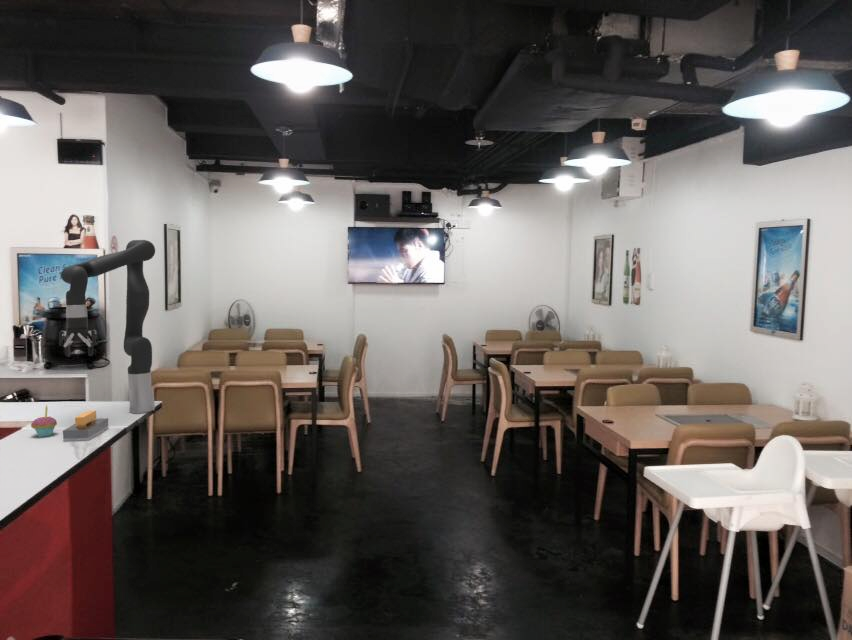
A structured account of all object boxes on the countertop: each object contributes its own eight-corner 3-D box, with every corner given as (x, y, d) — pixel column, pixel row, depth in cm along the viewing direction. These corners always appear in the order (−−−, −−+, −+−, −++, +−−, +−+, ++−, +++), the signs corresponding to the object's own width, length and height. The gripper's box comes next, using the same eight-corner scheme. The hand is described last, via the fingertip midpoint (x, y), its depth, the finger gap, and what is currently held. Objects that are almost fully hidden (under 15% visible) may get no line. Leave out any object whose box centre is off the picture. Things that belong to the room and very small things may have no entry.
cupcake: (62, 433, 256) (60, 402, 255) (43, 439, 248) (41, 407, 247) (46, 431, 259) (43, 401, 258) (26, 437, 251) (24, 406, 250)
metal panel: (85, 428, 262) (84, 418, 262) (108, 428, 263) (107, 418, 263) (63, 441, 244) (62, 430, 244) (88, 440, 245) (87, 429, 245)
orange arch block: (89, 428, 259) (88, 410, 258) (96, 428, 259) (95, 410, 258) (76, 435, 248) (74, 417, 247) (84, 435, 248) (83, 417, 248)
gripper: (99, 314, 270) (101, 354, 272) (63, 315, 269) (65, 355, 271) (91, 316, 263) (93, 357, 264) (54, 317, 262) (56, 357, 263)
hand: (79, 356), depth 267 cm, fingers open, 8 cm apart
